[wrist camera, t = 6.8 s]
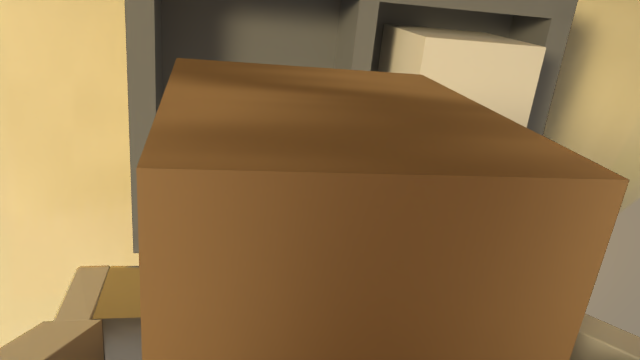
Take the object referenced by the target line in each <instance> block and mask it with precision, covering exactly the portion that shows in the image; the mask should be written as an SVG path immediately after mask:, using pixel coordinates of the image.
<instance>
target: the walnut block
mask: <svg viewBox="0 0 640 360" xmlns="http://www.w3.org/2000/svg"><path fill="white" fill-rule="evenodd" d="M136 173H137V207H138V241H139V274H140V308H141V341H142V360H570V357H571V354H572V351H573V348H574V345H575V342H576V339H577V336H578V333H579V330H580V327H581V324H582V321H583V318H584V315H585V311H586V308H587V305H588V302H589V300H590V296H591V294H592V290H593V287H594V285H595V281H596V278H597V276H598V272H599V270H600V266H601V263H602V261H603V258H604V254H605V252H606V248H607V245H608V243H609V239H610V236H611V233H612V231H613V227H614V225H615V221H616V218H617V216H618V213H619V210H620V207H621V204H622V201H623V198H624V195H625V192H626V189H627V186H628V183H629V180H628V179H626V178H624V177H622V176H620V175H619V174H617V173H615V172H613V171H611V170H609V169H607V168H605V167H603V166H601V165H599V164H597V163H595V162H593V161H591V160H589V159H587V158H585V157H583V156H581V155H579V154H577V153H575V152H573V151H571V150H569V149H567V148H565V147H563V146H561V145H560V144H558V143H556V142H554V141H552V140H550V139H548V138H546V137H544V136H542V135H540V134H538V133H536V132H534V131H532V130H530V129H528V128H526V127H524V126H522V125H520V124H518V123H516V122H514V121H512V120H510V119H508V118H506V117H504V116H503V115H501V114H499V113H497V112H495V111H493V110H491V109H489V108H487V107H485V106H483V105H481V104H479V103H477V102H475V101H473V100H471V99H469V98H467V97H465V96H463V95H461V94H459V93H457V92H455V91H453V90H451V89H449V88H447V87H445V86H444V85H442V84H440V83H438V82H436V81H434V80H432V79H430V78H428V77H426V76H424V75H421V74H406V73H391V72H377V71H362V70H347V69H332V68H318V67H303V66H288V65H274V64H259V63H244V62H230V61H215V60H200V59H185V58H176V61H175V64H174V67H173V69H172V72H171V75H170V78H169V80H168V83H167V86H166V88H165V91H164V94H163V97H162V99H161V102H160V105H159V108H158V110H157V113H156V116H155V119H154V121H153V124H152V127H151V129H150V132H149V135H148V138H147V140H146V143H145V146H144V149H143V151H142V154H141V157H140V160H139V162H138V165H137V168H136Z"/></svg>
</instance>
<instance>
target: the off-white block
mask: <svg viewBox="0 0 640 360" xmlns="http://www.w3.org/2000/svg"><path fill="white" fill-rule="evenodd" d="M545 51H546V47H543V46H539V45H535V44H531V43H527V42H523V41H518V40H514V39H510V38H506V37H502V36H497V35H493V34H489V33H485V32H474V31H463V30H451V29H440V28H429V27H417V26H406V25H395V24H384V29H383V36H382V43H381V51H380V58H379V65H378V72H391V73H406V74H421V75H424V76H426V77H428V78H430V79H432V80H434V81H436V82H438V83H440V84H442V85H444V86H445V87H447V88H449V89H451V90H453V91H455V92H457V93H459V94H461V95H463V96H465V97H467V98H469V99H471V100H473V101H475V102H477V103H479V104H481V105H483V106H485V107H487V108H489V109H491V110H493V111H495V112H497V113H499V114H501V115H503V116H504V117H506V118H508V119H510V120H512V121H514V122H516V123H518V124H520V125H522V126H524V127H526V128H527V124H528V120H529V116H530V112H531V107H532V103H533V99H534V95H535V91H536V87H537V83H538V79H539V75H540V71H541V67H542V63H543V59H544V55H545Z"/></svg>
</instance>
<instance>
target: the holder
mask: <svg viewBox="0 0 640 360" xmlns="http://www.w3.org/2000/svg"><path fill="white" fill-rule="evenodd" d="M577 2H578V0H125V22H126V51H127V80H128V109H129V138H130V167H131V196H132V225H133V253H139V241H138V207H137V173H136V168H137V165H138V162H139V160H140V157H141V154H142V151H143V149H144V146H145V143H146V140H147V138H148V135H149V132H150V129H151V127H152V124H153V121H154V119H155V116H156V113H157V110H158V108H159V105H160V102H161V99H162V97H163V94H164V91H165V88H166V86H167V83H168V80H169V78H170V75H171V72H172V69H173V67H174V64H175V61H176V58H185V59H200V60H215V61H230V62H244V63H259V64H274V65H288V66H303V67H318V68H332V69H347V70H362V71H377V72H378V65H379V58H380V51H381V43H382V36H383V29H384V24H395V25H406V26H417V27H429V28H440V29H451V30H463V31H474V32H485V33H489V34H493V35H497V36H502V37H506V38H510V39H514V40H518V41H523V42H527V43H531V44H535V45H539V46H543V47H546V51H545V55H544V59H543V63H542V67H541V71H540V75H539V79H538V83H537V87H536V91H535V95H534V99H533V103H532V107H531V112H530V116H529V120H528V124H527V128H528V129H530V130H532V131H534V132H536V133H538V134H540V135H542V136H543V132H544V128H545V125H546V121H547V117H548V113H549V109H550V105H551V102H552V98H553V94H554V90H555V86H556V82H557V79H558V75H559V71H560V67H561V63H562V59H563V55H564V52H565V48H566V44H567V40H568V36H569V32H570V29H571V25H572V21H573V17H574V13H575V9H576V6H577Z"/></svg>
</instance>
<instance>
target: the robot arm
mask: <svg viewBox="0 0 640 360" xmlns="http://www.w3.org/2000/svg"><path fill="white" fill-rule="evenodd" d="M0 360H142V341H141V308H140V274H139V266H111V267H110V266H109V265H108V266H81V267H79V268H77V269H76V271H75V273H74V276H73V278H72V280H71V282H70V284H69V287H68V289H67V291H66V293H65V296H64V298H63V300H62V302H61V305H60V307H59V309H58V311H57V314H56V316H55V318H54V320H53V321H44V322H42V323H40V324H39V325H37V326H35V327H34V328H32V329H31V330H29V331H27V332H26V333H24V334H22V335H21V336H19V337H17V338H16V339H14V340H12V341H11V342H9V343H7V344H6V345H4V346H3V347H1V348H0ZM570 360H640V337H638V336H636V335H633V334H631V333H629V332H626V331H624V330H622V329H619V328H617V327H615V326H612V325H610V324H608V323H606V322H603V321H601V320H599V319H596V318H594V317H592V316H589V315H587V314H585V315H584V318H583V321H582V324H581V327H580V330H579V333H578V336H577V339H576V342H575V345H574V348H573V351H572V354H571V357H570Z"/></svg>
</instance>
